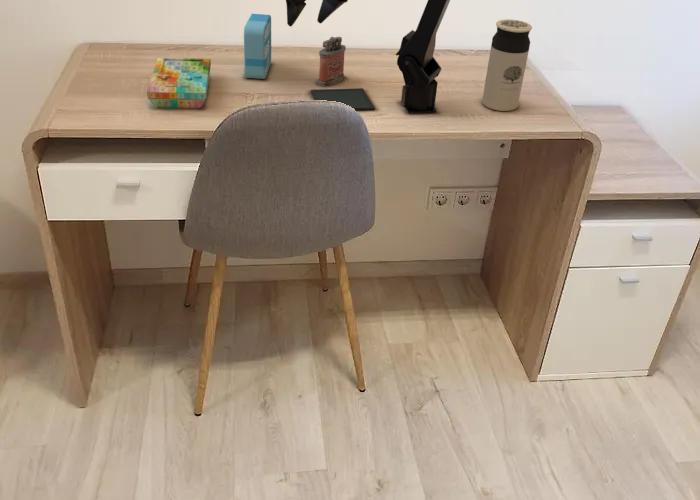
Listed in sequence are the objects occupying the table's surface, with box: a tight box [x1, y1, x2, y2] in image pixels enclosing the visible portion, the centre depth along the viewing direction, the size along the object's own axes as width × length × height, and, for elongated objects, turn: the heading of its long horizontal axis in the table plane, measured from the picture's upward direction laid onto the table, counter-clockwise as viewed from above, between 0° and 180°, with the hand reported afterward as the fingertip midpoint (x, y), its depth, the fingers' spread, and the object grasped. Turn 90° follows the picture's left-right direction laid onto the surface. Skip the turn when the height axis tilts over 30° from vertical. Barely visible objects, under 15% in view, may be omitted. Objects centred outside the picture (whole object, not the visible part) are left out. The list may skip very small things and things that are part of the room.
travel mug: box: [481, 18, 533, 112], centre depth 162 cm, size 8×8×18 cm
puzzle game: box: [146, 57, 212, 109], centre depth 161 cm, size 12×5×20 cm
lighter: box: [317, 36, 347, 87], centre depth 170 cm, size 8×3×10 cm, turn 144°
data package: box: [243, 13, 272, 80], centre depth 172 cm, size 12×4×12 cm, turn 177°
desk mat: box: [310, 87, 376, 112], centre depth 163 cm, size 12×11×1 cm
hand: (304, 23), depth 163 cm, fingers open, 9 cm apart
